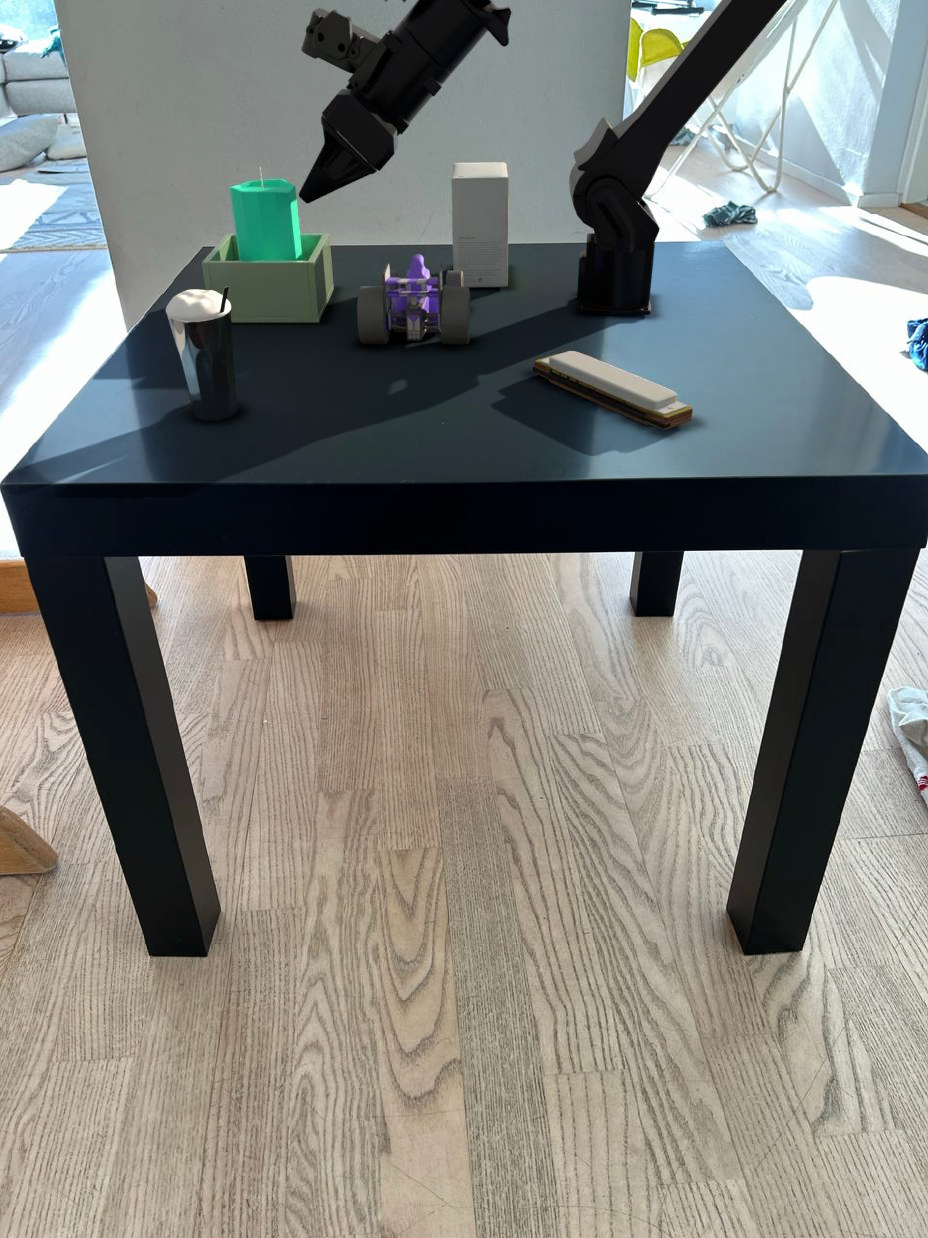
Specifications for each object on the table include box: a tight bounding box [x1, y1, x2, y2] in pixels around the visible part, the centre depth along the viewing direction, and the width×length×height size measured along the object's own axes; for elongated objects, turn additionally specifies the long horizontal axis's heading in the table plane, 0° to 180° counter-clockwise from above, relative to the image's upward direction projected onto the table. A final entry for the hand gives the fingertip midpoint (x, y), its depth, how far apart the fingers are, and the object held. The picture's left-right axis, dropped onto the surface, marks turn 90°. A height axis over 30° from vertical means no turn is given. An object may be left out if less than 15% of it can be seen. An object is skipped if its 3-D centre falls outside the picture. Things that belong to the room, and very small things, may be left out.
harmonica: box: [532, 350, 694, 431], centre depth 77 cm, size 15×3×2 cm, turn 37°
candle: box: [229, 166, 303, 261], centre depth 94 cm, size 6×6×12 cm
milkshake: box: [165, 286, 238, 422], centre depth 73 cm, size 4×5×10 cm
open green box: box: [201, 233, 335, 324], centre depth 96 cm, size 10×10×6 cm
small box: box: [451, 161, 510, 288], centre depth 101 cm, size 8×6×10 cm
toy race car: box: [356, 253, 471, 345], centre depth 91 cm, size 10×15×6 cm, turn 178°
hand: (310, 187), depth 91 cm, fingers open, 9 cm apart
